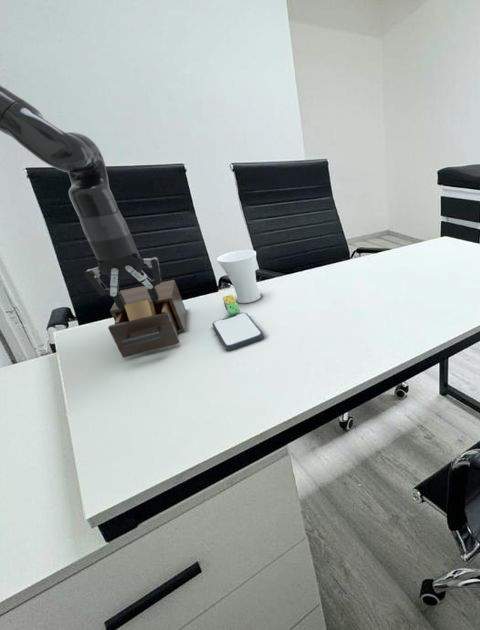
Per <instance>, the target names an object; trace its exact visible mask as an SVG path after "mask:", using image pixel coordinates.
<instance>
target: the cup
mask: <svg viewBox="0 0 480 630" xmlns="http://www.w3.org/2000/svg"><path fill="white" fill-rule="evenodd" d="M216 261H217V262H218V264H219V265H220V267H221V268H222V269H223V271H224V273H226V275H227V277H228V279H229V281H230V282H231V284H232V286H233V288H234V291H235V295H236V299H237V300H236V301H237V303H239V304H248V303H249V304H250V303H253V302H255V301H258V300H259V299H261V297H262V296H261V293H260V290H259V288H258V284H257V283H258V282H257V277H256V276H257V275H256V264H257V251H256V250H253V249H239V250H234V251H230V252H226V253H223V254H221V255H219V256H218V257H216Z"/></svg>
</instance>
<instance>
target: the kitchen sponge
mask: <svg viewBox="0 0 480 630" xmlns="http://www.w3.org/2000/svg"><path fill="white" fill-rule="evenodd" d="M222 300H223V305H224V307H225V311H226V312H227V315H228V317H230V316H233V315H237V314H240V313H241V312H240V307H239V305H238V302H237V300H236V297H235V295H234V294H226V295H224V296H222Z"/></svg>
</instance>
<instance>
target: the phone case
mask: <svg viewBox="0 0 480 630" xmlns="http://www.w3.org/2000/svg"><path fill="white" fill-rule="evenodd" d="M239 313H240V314H237V315H233V316H230V317H229V316H227V317H223V318H220V319H217V320H214V321H213V322H212V324H211V325H212V328H213V329H214V332H215V334H216V335H217V337H218V338H219V340H220V342H221V344H222V345H223V347H224V348H225V350H226V351H234V350H236V349H239V348H242V347H245V346H248V345H250V344H254V343H256V342H259V341H262V340H263V339H264V333H263V331H262V329H260V328H259V326H258V325H257V324H256V323H255V321H254V320H253V319H252V318H251V316H250V315H249V314H248V313H247V312H239Z"/></svg>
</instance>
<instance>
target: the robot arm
mask: <svg viewBox="0 0 480 630" xmlns="http://www.w3.org/2000/svg"><path fill="white" fill-rule="evenodd" d="M0 132H2V133H3V134H4V135H7V136H8V137H11V138H12V139H14V141H16V142H17V143H18V144H19V145H21V146H22V147H23V148H24V149H26V150H27V151H28V152H29V153H31V154H32V155H33V156H35V157H36V158H37V159H39V160H40V161H42V162H43V163H45V164H47V165H48V166H50V167H52V168H54V169H56V170H59V171H61V172H65V173H67V174H68V177H69V180H70V183H71V186H70V188H69V189H68V196H69V200H70V201H71V204H72V206H73V209H74V211H75V212H76V214H77V216H78V219H79V222H80V225H81V228H82V231H83V233H84V237H85V238H86V240H87V241H88V244H89V246H90V248H91V250H92V252H93V254H94V256H95V259H96V260H97V262H98V264H97V266H96V267H94V268H88V269H87V270H86V271H85V272H84V276H85V278H86V279H87V280H88V282H89V283H90V284H91V285H92V287H93V288H94V289H95V291H96V292H97V293H98V295H99V296H102V297H105V296H110V297H111V298H112V299H113V302H115V304H116V306H117V307H118V308H119V309H122V311H123V310H126V309H125V306H124V305H126V303H125V301H124V298H123V296H122V294H121V293H119V292H120V291H119V290H120V283H121V282H124V281H126V280H135V279H136V280H137V281H138V282H139V283H141V284H143V286H146V287H147V288H148V289H147V291H148V293H149V295H150V298H151V300H152V303H153V304H154V303H157V300H158V299H159V295H158V293H157V290H156V288H155V286H156V285H158V284H160V283H161V282H162V272H161V267H160V261H159V257H158V256H153V257H151V258H150V257H147V258H144V257H143V256H142V255H140V253H139V251H138V248H137V246H136V243H135V241H134V239H133V236H132V233H131V232H130V229H129V226H128V224H127V222H126V220H125V217H124V216H123V214H122V213H121V211H120V209H119V207H118V204H117V201H116V199H115V196H114V194H113V192H112V189H111V187H110V180H109V175H108V171H107V167H106V163H105V162H106V161H105V160H104V157H103V154H102V152H101V150H100V149H99V147H98V145H97V144H96V143H95V142H94V141H93V140H92V139H91V138H90V137H89V136H88V135H85V134H82V133H79V132H75V131H73V132H69V131H68V132H65V131H63V130H62V129H60V128H59V127H57V126H55V125H54V124H52V123H50V122H49V121H48V120H46V119H45V118H44V116H43V113H41V111H40V110H38V109H37V108H36V107H35V106H34V105H32V104H31V103H29V102H28V101H26V100H24V99H23V98H21V97H20V96H18V95H17V94H16V93H13V92H12V91H11V90H9V89H7V88H6V87H4V86H2V85H1V84H0ZM144 265H147V268H149V269H152V275H153V279H151V278H150V277H149V276H148V274H146V272H144V271H143V267H144ZM101 273H103V274H104V275H106V276H107V277H109V278H110V283H109V286H110V287H107V286H106V284H105V283H104V282H103V280H102V279H101Z"/></svg>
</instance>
